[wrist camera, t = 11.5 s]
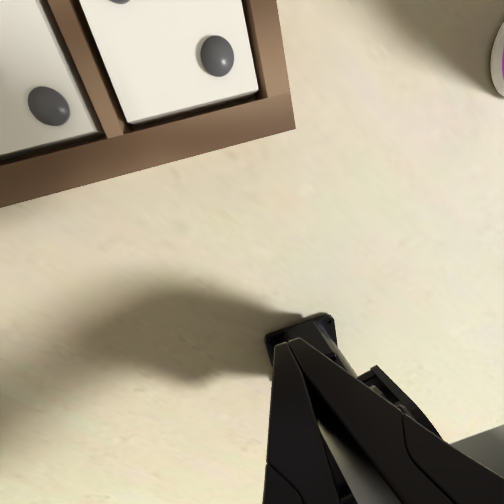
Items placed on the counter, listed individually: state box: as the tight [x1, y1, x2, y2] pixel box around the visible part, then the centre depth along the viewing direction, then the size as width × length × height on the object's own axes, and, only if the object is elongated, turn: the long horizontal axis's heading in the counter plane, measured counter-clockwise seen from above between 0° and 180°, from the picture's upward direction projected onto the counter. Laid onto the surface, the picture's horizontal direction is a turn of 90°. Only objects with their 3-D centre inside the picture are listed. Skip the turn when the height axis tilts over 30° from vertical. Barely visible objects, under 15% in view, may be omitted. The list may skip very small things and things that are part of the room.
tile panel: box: [0, 0, 296, 208], centre depth 12 cm, size 10×24×4 cm, turn 103°
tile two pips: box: [79, 0, 258, 127], centre depth 11 cm, size 6×6×3 cm
